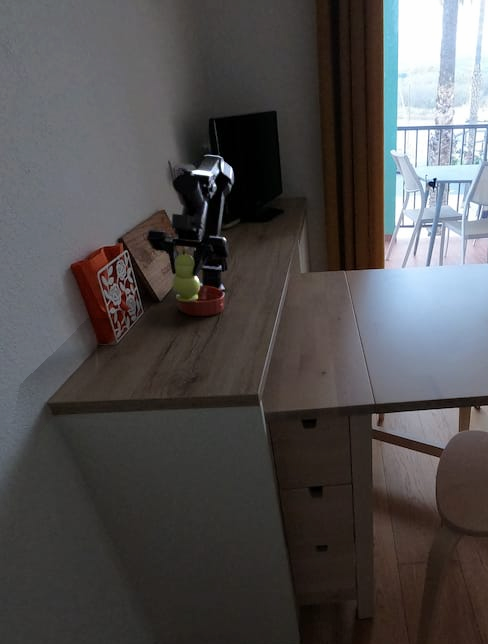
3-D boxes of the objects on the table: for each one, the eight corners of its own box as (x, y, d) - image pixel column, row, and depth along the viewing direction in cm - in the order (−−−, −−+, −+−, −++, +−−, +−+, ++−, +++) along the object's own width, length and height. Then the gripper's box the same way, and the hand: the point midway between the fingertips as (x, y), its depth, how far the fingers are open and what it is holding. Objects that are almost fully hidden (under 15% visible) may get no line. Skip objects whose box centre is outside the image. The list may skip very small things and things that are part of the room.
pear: (171, 293, 118) (167, 245, 112) (198, 292, 121) (195, 245, 115) (175, 303, 113) (171, 253, 107) (203, 301, 116) (200, 253, 110)
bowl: (175, 301, 130) (174, 286, 128) (219, 299, 136) (218, 284, 134) (182, 319, 121) (181, 303, 119) (229, 315, 127) (228, 300, 124)
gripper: (144, 194, 108) (132, 254, 104) (225, 204, 110) (215, 263, 106) (159, 221, 119) (148, 276, 115) (232, 229, 121) (224, 283, 117)
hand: (183, 274), depth 113 cm, fingers closed on pear, 4 cm apart
